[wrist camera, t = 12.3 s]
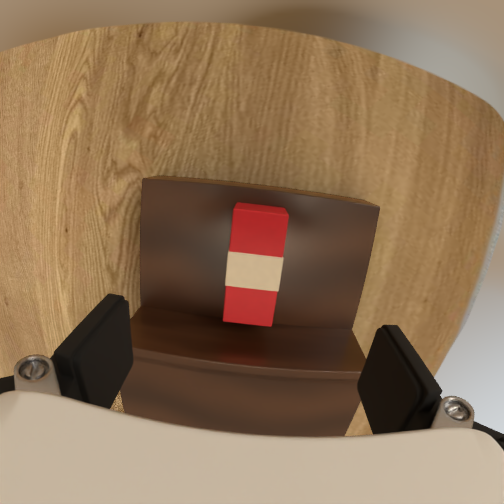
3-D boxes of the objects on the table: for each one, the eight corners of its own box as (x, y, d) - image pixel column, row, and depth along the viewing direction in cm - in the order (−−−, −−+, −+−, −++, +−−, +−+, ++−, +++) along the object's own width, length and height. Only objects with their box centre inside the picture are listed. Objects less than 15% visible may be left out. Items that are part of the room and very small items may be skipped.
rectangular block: (236, 201, 22) (232, 208, 19) (286, 207, 22) (289, 215, 19) (226, 302, 24) (221, 322, 21) (271, 308, 24) (272, 327, 21)
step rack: (158, 175, 25) (105, 185, 16) (364, 199, 26) (416, 222, 16) (157, 369, 31) (129, 434, 22) (318, 388, 32) (333, 456, 22)
